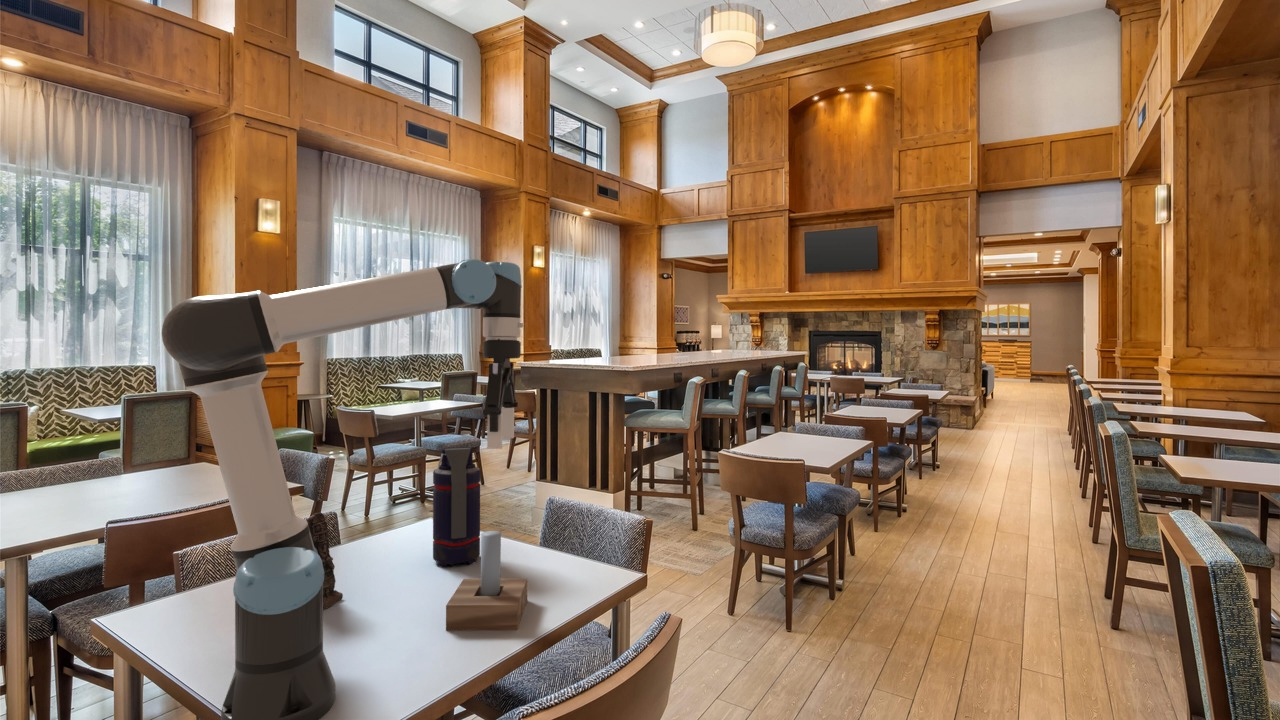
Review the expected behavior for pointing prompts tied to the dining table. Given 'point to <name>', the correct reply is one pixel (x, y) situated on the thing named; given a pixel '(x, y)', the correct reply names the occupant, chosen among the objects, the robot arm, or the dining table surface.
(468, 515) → the grenade
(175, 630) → the dining table surface
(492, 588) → the pin
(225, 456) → the robot arm
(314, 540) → the statue
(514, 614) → the socket block
